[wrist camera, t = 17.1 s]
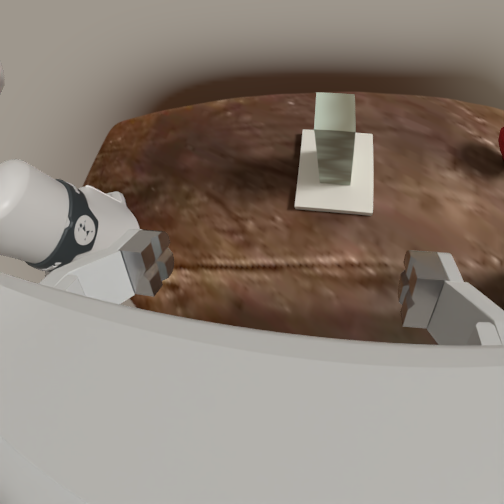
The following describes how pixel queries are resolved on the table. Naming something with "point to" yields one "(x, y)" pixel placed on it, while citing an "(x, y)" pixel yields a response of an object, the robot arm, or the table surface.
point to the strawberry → (501, 141)
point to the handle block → (335, 136)
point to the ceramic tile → (334, 195)
